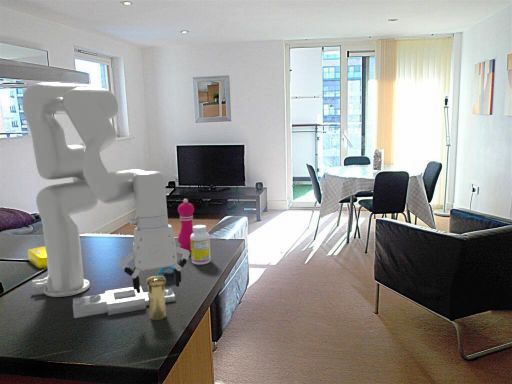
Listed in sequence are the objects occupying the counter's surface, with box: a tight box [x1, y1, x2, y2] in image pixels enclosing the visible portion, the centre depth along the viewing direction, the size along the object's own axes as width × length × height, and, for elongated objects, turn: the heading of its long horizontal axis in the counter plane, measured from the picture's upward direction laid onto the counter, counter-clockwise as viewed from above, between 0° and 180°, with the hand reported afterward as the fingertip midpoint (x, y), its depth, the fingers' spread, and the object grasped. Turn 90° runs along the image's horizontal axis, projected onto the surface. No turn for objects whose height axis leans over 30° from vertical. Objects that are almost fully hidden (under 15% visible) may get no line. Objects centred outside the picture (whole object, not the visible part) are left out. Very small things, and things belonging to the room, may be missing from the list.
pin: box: [145, 275, 167, 321], centre depth 114 cm, size 5×5×10 cm
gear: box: [156, 266, 174, 276], centre depth 145 cm, size 11×6×10 cm
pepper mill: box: [177, 198, 195, 253], centre depth 170 cm, size 7×7×20 cm
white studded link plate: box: [72, 285, 176, 319], centre depth 123 cm, size 26×10×4 cm, turn 111°
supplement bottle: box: [190, 224, 211, 266], centre depth 157 cm, size 7×7×13 cm
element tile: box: [27, 245, 48, 269], centre depth 164 cm, size 15×15×5 cm
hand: (157, 288), depth 114 cm, fingers open, 9 cm apart
